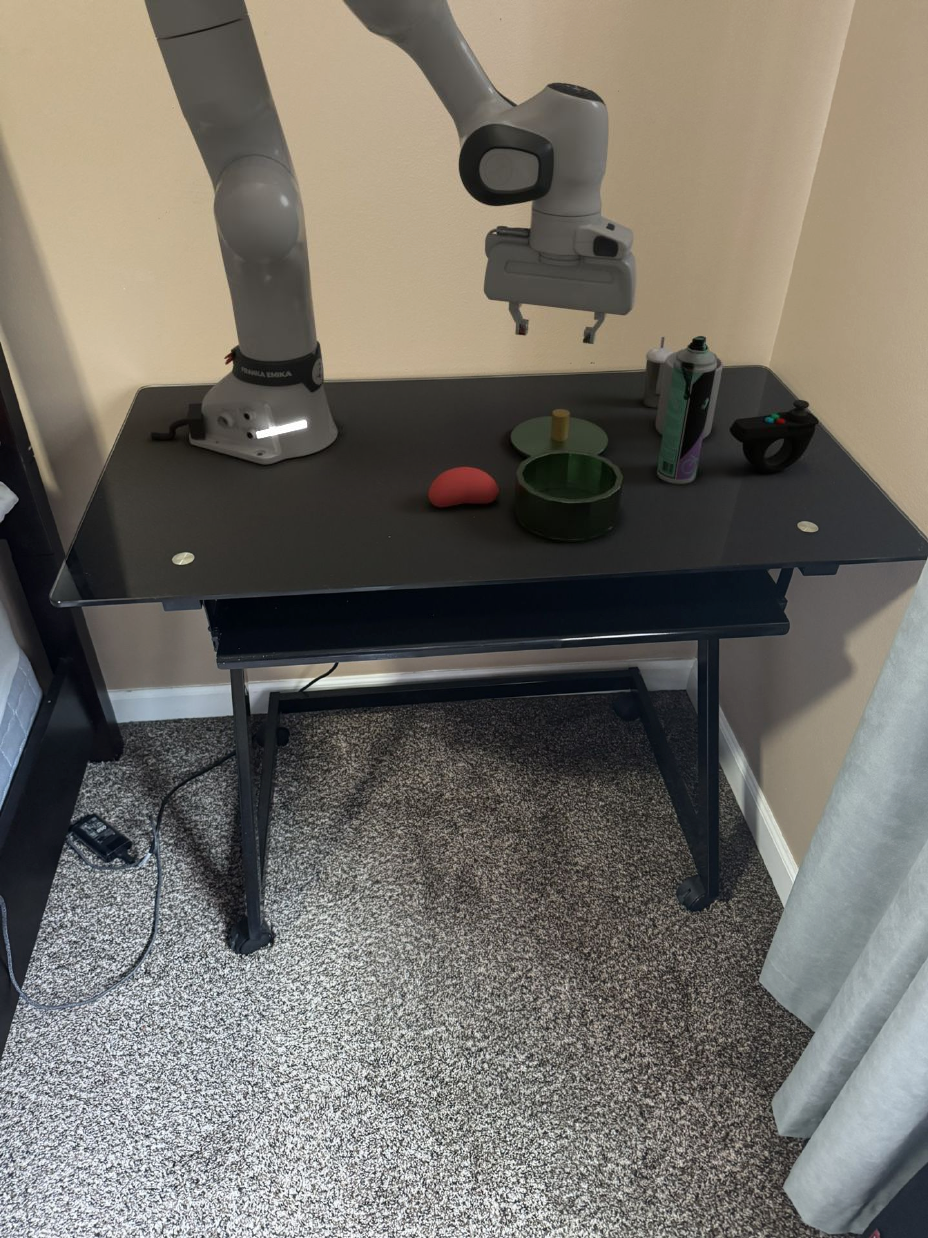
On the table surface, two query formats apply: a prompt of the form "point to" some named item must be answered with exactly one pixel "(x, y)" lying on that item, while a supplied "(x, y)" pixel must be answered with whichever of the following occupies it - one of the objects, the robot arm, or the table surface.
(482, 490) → the red bean shape
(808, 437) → the controller
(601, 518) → the tin
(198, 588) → the table surface
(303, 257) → the robot arm
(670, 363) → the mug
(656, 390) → the milkshake
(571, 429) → the tin lid
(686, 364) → the spray can
